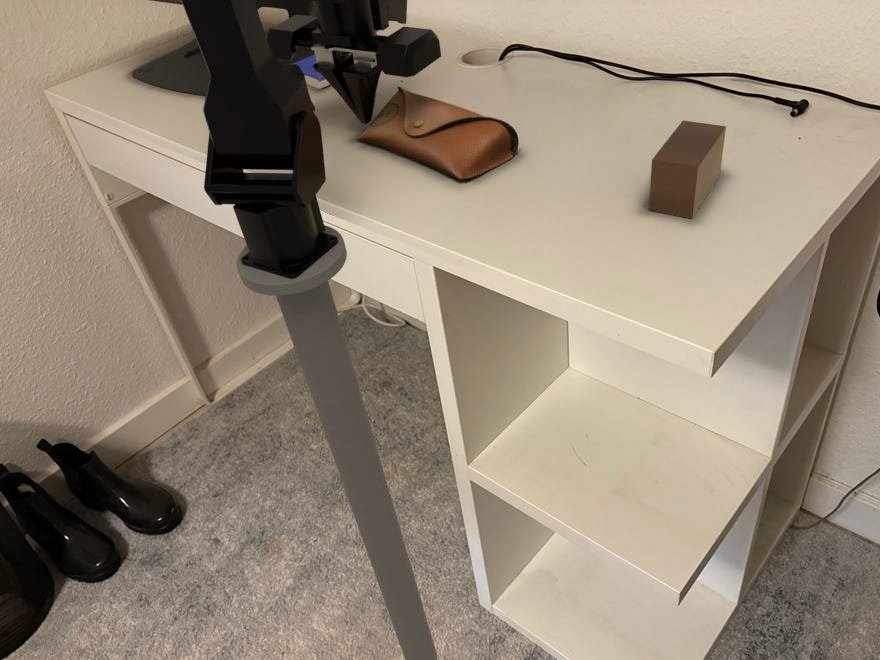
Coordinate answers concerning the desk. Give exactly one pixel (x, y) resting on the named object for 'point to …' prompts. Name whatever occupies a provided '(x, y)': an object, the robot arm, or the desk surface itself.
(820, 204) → the desk surface
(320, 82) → the hard drive
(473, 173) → the sunglasses case
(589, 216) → the desk surface
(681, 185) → the walnut block
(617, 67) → the desk surface
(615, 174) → the desk surface
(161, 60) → the laptop stand
